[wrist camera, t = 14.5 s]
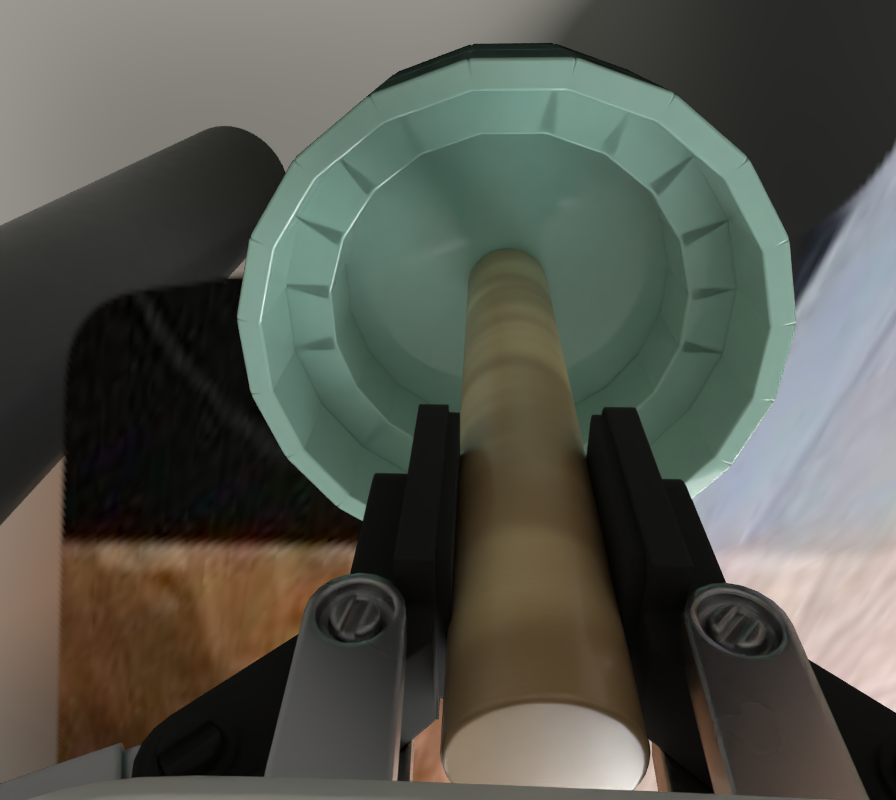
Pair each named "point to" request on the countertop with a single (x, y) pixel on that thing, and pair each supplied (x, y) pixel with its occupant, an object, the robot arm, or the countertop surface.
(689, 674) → the robot arm
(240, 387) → the countertop surface
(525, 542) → the stirring stick
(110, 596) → the countertop surface
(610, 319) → the bowl
